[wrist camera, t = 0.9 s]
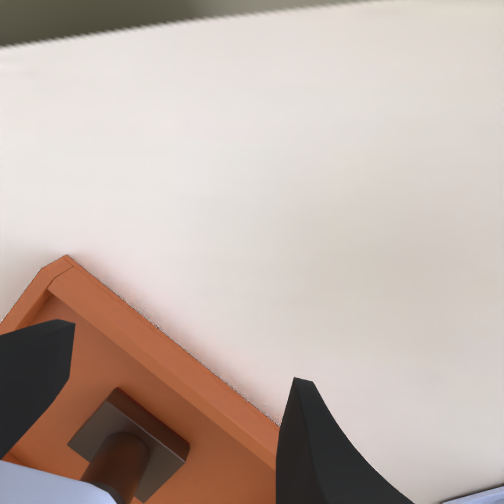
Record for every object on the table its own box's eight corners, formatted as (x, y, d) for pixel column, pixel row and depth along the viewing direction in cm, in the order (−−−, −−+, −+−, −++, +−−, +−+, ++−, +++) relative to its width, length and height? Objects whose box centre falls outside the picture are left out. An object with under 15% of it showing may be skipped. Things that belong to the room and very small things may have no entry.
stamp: (192, 443, 27) (161, 536, 21) (152, 483, 28) (110, 583, 22) (117, 384, 26) (62, 461, 20) (79, 427, 27) (15, 512, 21)
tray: (332, 469, 27) (335, 503, 24) (191, 591, 30) (181, 631, 28) (66, 254, 25) (41, 267, 22) (-52, 410, 28) (-84, 436, 26)
